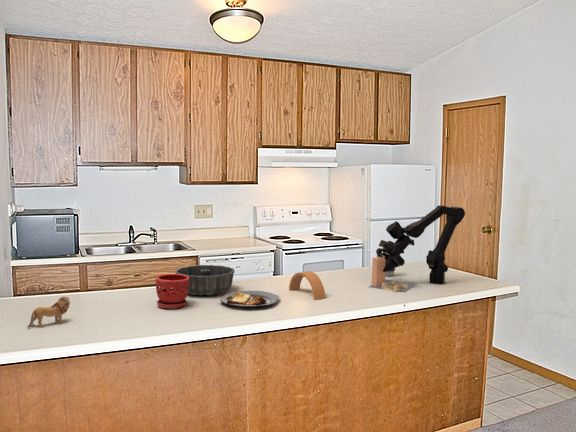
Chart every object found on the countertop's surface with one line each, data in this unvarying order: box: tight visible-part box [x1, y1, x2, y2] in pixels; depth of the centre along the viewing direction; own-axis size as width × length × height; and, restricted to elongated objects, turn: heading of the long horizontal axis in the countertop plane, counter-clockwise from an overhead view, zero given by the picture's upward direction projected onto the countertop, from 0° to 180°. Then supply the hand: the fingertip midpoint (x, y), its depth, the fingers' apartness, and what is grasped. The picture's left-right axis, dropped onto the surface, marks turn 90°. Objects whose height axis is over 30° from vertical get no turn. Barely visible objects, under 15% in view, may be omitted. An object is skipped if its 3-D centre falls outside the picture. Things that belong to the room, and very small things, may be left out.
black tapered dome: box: [381, 247, 396, 278], centre depth 259 cm, size 10×10×15 cm
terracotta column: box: [371, 256, 386, 287], centre depth 236 cm, size 4×4×14 cm
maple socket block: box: [381, 280, 408, 293], centre depth 229 cm, size 8×8×2 cm
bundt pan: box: [174, 264, 236, 297], centre depth 223 cm, size 26×26×10 cm
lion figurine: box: [27, 296, 71, 329], centre depth 175 cm, size 15×5×9 cm, turn 138°
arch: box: [288, 270, 326, 301], centre depth 220 cm, size 6×20×10 cm, turn 32°
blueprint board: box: [368, 278, 418, 293], centre depth 237 cm, size 18×20×1 cm
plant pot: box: [155, 273, 189, 310], centre depth 200 cm, size 13×13×12 cm
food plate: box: [219, 290, 280, 308], centre depth 207 cm, size 25×23×4 cm
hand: (378, 269), depth 235 cm, fingers open, 9 cm apart
